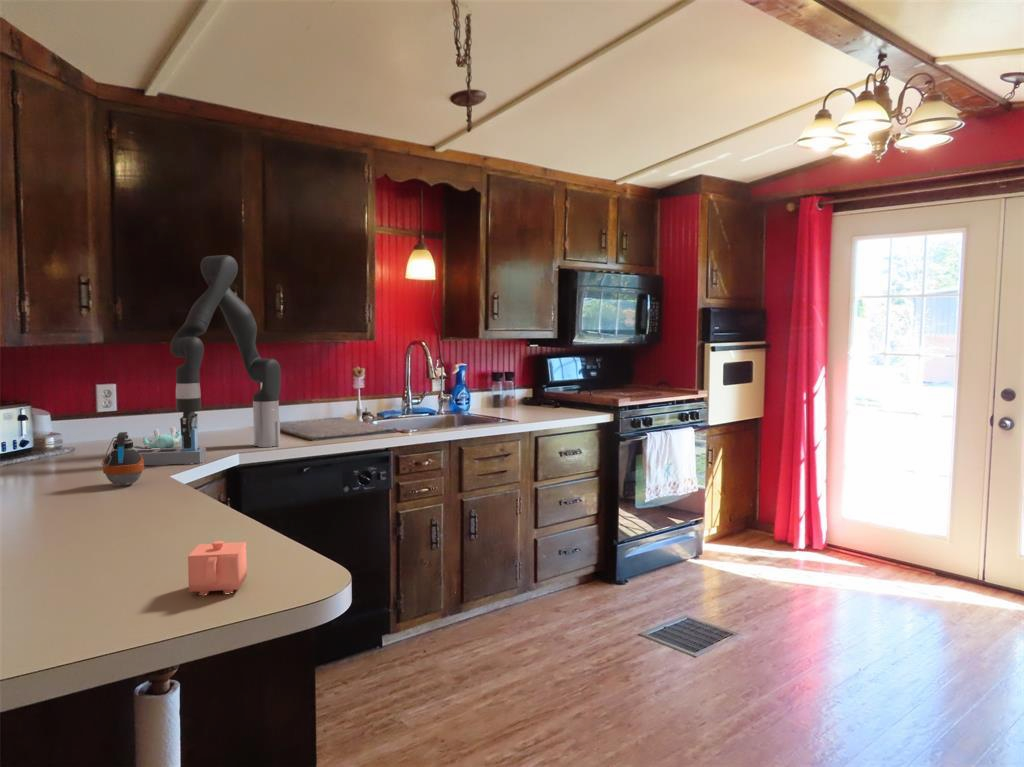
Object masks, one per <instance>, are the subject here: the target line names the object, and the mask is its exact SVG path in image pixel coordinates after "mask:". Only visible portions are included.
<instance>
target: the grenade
mask: <svg viewBox="0 0 1024 767" xmlns="http://www.w3.org/2000/svg"><path fill="white" fill-rule="evenodd" d="M111 446H112V449H111V450H110V448H111ZM109 450H110V452H109ZM108 452H109V453H108ZM101 466H102V469H103V475H104V474H105V476H106V478H107V480H109V482H110V483H112V484H113V485H116V486H120V487H123V486H124V487H126V486H129V485H130V486H131V485H132V484H134V483H136V482H137V481H138V480H139V479H140V477H141V476H142V473H143V471H144V470H145V466H144V460H143V457H142V455H141V454H139V453H138V452H137V451H135V449H134V442H133V440H132V439H130V438H129V435H128V432H127V431H123V432H119V433H117V435H116V436H114V437H112V439H111V442H110V444H109V446H108V448H107V451H106V453H105V454H104V457H103V459H102V461H101Z"/></svg>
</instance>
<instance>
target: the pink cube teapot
mask: <svg viewBox="0 0 1024 767" xmlns="http://www.w3.org/2000/svg"><path fill="white" fill-rule="evenodd" d="M247 562H248V561H247V542H246V541H240V542H224V540H216V541H213V542H211V543H199V544H197V546H196V547H195V548H194V549H193V550H192V551H191V552H190V554H189V555H188V556H187V566H188V567H187V568H188V569H187V571H188V575H187V576H188V577H187V578H188V592H189V593H197V592H198V594H199V595H205V594H208V593H209V594H210V592H216V591H217V592H218V591H222V592H223V594H224V593H231V592H233V591H235V590H237V591H238V590H240V589H241V587H242V585H243V583H244V581H245V580H246V579H247V574H248V569H247V564H248V563H247ZM209 594H208V595H209Z"/></svg>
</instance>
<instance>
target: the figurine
mask: <svg viewBox="0 0 1024 767" xmlns="http://www.w3.org/2000/svg"><path fill="white" fill-rule="evenodd" d="M169 431H170V434H165V433H164V434H162V433H161V434H160V430H159V429H158V428H155V429H153V435H154V438H153V439H152V440H151V441H149V440H148V438H149V436H148V435H144V436H143V442H142V444H143V445H144V446H145V447H146V448H147V447H149V448H148V449H150V448H168V447H170V448H173V446H175V445H178V444H179V443H180V441H181V440H182V436H181V430H177V429H176V427H175V426H171V427H170V428H169ZM176 434H177V435H176Z"/></svg>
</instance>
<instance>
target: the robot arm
mask: <svg viewBox="0 0 1024 767" xmlns="http://www.w3.org/2000/svg"><path fill="white" fill-rule="evenodd" d="M200 271H201V274H202V276H203V278H204V281H205V283H206V284H207V286H208V288H207V289H206V290H205V292H204V293H202V294H201V296H200V297H199V298H198V299H196V301H195V302H194V303H193V305H192V306H191V309H190V310H189V313H188V314H187V317H186V320H185V322H184V323H183V325H181V326H180V328H179V329H178V330H177V332H176V333H175V335H173V337H172V338H171V342H170V345H169V349H170V352H171V354H172V355H173V357H176V358H180V359H181V358H182V359H185V360H184V363H183V364H181V365H179V366H178V365H177V367H176V369H175V379H176V380H175V382H176V385H175V410H176V412H180V413H181V412H182V413H183V414H182V417H180V418H179V421H180V431H181V436H183V441H184V448H191V431H192V430H193V428H197V431H198V413H196V412H198V411H201V410H202V397H201V395H202V394H201V393H202V392H201V386H200V385H201V384H200V369H201V364H202V362H203V357H204V353H205V346H204V343H203V341H202V340H201V339H200V338H199V337H198V336H201V335H204V334H205V333H206V332H207V329H208V328H209V325H210V322H211V321H212V318H213V315H214V313H215V311H216V309H217V307H218V306H219V308H220V310H221V312H222V314H223V316H224V319H225V321H226V324H227V327H228V328H229V330H230V332H231V334H232V336H233V338H234V340H235V342H236V345H237V348H238V350H239V353H240V356H241V358H242V361H243V364H244V367H245V371H246V373H247V375H248V377H249V379H250V380H251V381H252V382H254V383H257V384H258V383H259V384H260V383H261V384H262V385H261V389H259V391H258V390H257V391H256V392H254V393H253V394H252V412H253V413H252V414H253V418H252V419H253V446H254V447H255V446H258V447H257V448H270V447H271V448H272V446H273V447H280V445H281V423H280V422H281V420H280V409H279V408H280V404H279V403H280V402H279V401H280V399H279V397H280V394H281V388H282V387H281V383H282V382H281V381H282V379H281V378H282V369H281V364H280V363H279V361H277V359H274V358H263V357H261V356H260V354H259V352H258V349H257V345H256V340H257V334H258V333H257V332H258V326H257V322H256V320H255V317H254V315H253V312H252V311H251V309H250V308H249V307H248V305H247V304H246V303H245V302H244V301H243V300H242V299H241V298H239V296H238V295H236V294H235V293H234V292H233V290H232V289H231V286H232V284H233V282H234V281H235V279H236V277H237V275H238V271H239V266H238V263H237V261H236V259H235V258H234V257H233V256H231V255H228V254H223V255H222V254H221V255H219V254H218V255H209V256H205V257H203V258H202V260H201V262H200ZM185 431H187V432H185ZM279 444H280V445H279Z"/></svg>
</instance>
